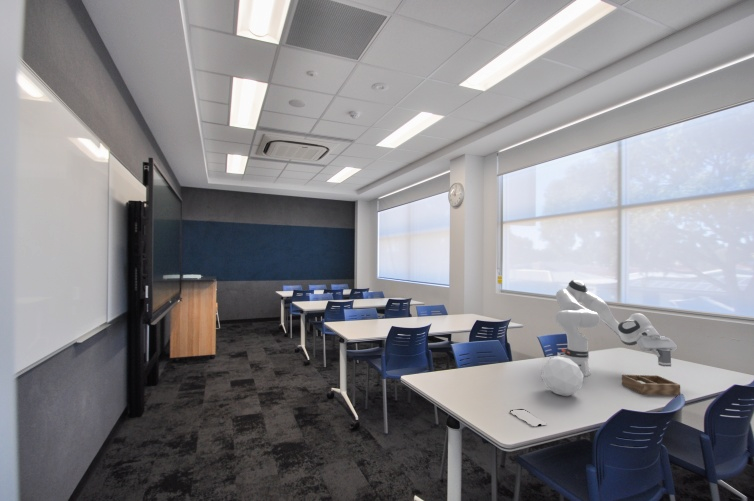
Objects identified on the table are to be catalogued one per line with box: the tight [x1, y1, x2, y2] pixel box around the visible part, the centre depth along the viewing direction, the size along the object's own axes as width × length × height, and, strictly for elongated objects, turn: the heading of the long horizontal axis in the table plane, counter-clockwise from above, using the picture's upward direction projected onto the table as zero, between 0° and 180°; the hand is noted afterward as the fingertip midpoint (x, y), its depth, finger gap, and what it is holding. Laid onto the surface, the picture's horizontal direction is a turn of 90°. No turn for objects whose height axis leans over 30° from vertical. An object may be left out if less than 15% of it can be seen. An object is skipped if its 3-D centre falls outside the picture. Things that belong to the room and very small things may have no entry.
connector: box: [657, 349, 672, 367], centre depth 201 cm, size 5×4×9 cm
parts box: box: [621, 374, 681, 396], centre depth 190 cm, size 20×15×6 cm
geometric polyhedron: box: [540, 355, 584, 397], centre depth 183 cm, size 19×20×20 cm
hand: (665, 356), depth 200 cm, fingers closed on connector, 4 cm apart
